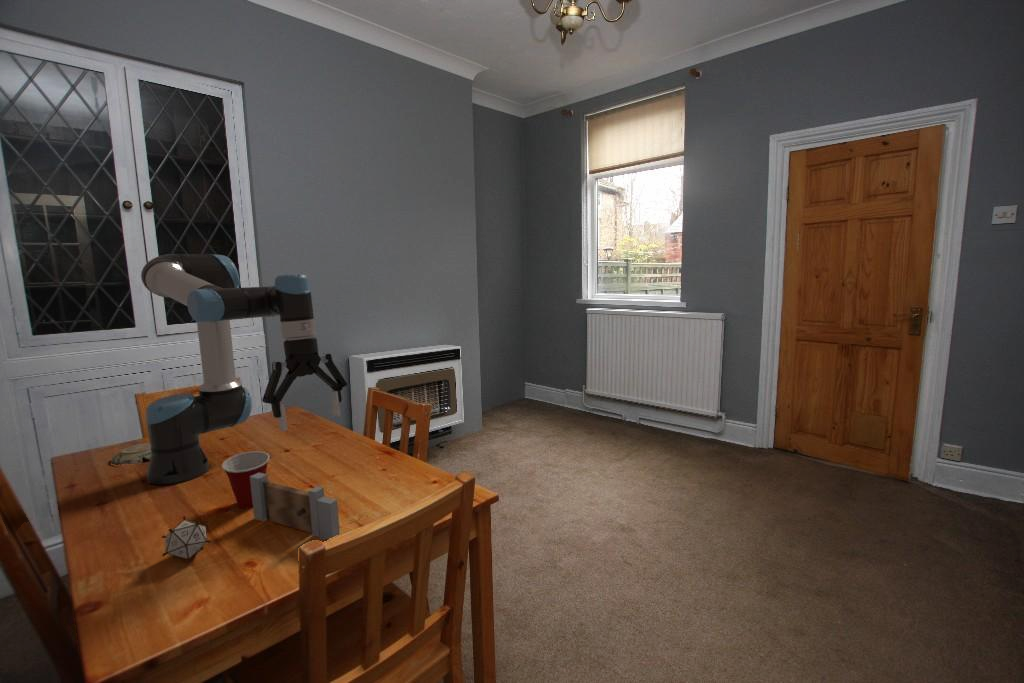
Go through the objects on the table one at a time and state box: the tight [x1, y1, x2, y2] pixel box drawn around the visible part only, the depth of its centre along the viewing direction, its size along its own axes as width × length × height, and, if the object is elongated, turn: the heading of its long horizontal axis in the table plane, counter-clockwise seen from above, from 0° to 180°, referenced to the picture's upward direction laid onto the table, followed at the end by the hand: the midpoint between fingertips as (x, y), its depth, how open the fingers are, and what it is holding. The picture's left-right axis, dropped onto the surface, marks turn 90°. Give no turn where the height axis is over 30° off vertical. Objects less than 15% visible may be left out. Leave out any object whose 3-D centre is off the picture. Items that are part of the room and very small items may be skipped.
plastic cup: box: [221, 450, 271, 509], centre depth 120 cm, size 11×11×12 cm
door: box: [263, 480, 312, 534], centre depth 109 cm, size 15×3×9 cm, turn 66°
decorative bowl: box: [110, 442, 151, 465], centre depth 152 cm, size 15×4×15 cm
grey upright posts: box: [250, 473, 341, 540], centre depth 109 cm, size 25×2×11 cm, turn 66°
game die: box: [161, 515, 212, 564], centre depth 98 cm, size 9×8×10 cm
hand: (311, 422), depth 116 cm, fingers open, 13 cm apart
